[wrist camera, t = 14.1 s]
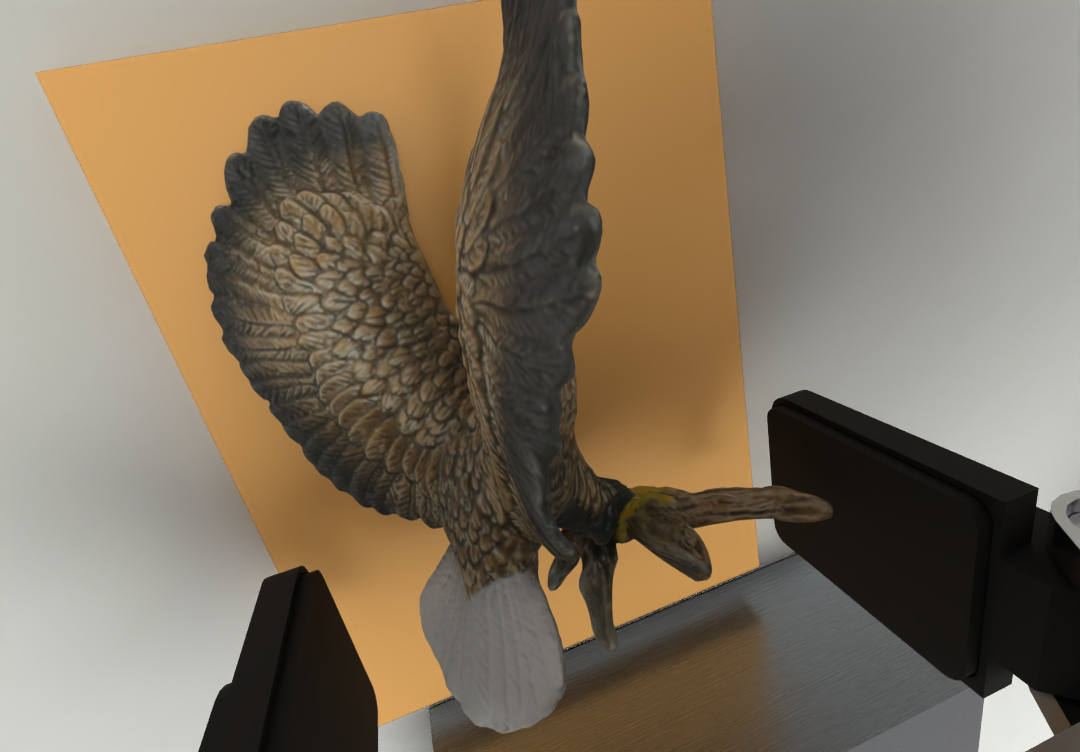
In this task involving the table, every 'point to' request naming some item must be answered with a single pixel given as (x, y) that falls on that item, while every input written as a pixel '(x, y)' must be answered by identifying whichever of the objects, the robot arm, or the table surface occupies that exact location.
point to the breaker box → (745, 682)
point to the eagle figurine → (456, 360)
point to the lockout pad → (449, 279)
